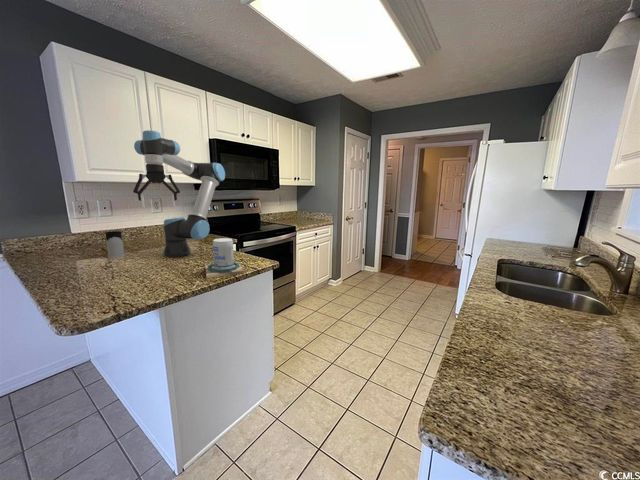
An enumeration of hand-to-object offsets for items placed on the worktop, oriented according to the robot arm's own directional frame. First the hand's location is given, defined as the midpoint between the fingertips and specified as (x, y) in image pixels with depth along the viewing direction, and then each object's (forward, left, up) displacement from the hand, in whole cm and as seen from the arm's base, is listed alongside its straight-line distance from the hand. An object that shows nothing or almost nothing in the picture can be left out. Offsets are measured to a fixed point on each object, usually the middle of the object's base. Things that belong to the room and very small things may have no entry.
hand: (159, 207), depth 135 cm
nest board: (+19, +28, -32) cm, 46 cm away
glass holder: (-38, -30, -32) cm, 58 cm away
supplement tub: (+19, +28, -30) cm, 46 cm away
